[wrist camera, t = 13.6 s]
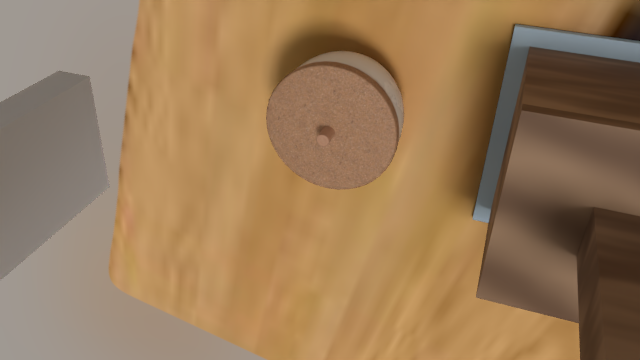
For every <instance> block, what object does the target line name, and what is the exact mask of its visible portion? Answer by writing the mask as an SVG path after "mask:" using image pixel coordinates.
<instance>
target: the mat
mask: <svg viewBox="0 0 640 360" xmlns="http://www.w3.org/2000/svg"><path fill="white" fill-rule="evenodd" d="M530 46H531V47H537V48H544V49H551V50H558V51H565V52H571V53H578V54H585V55H592V56H599V57H605V58H612V59H619V60H626V61H633V62H639V63H640V41H635V40H628V39H620V38H613V37H606V36H599V35H592V34H584V33H577V32H570V31H563V30H556V29H549V28H541V27H534V26H527V25H520V24H515V28H514V32H513V37H512V42H511V46H510V51H509V55H508V60H507V64H506V69H505V73H504V78H503V83H502V87H501V92H500V96H499V101H498V105H497V110H496V114H495V119H494V124H493V128H492V133H491V137H490V142H489V146H488V151H487V155H486V160H485V164H484V169H483V174H482V178H481V183H480V187H479V192H478V196H477V201H476V205H475V210H474V215H473V220H478V221H482V222H487V223H489V218H490V212H491V207H492V203H493V199H494V194H495V190H496V186H497V182H498V178H499V173H500V169H501V165H502V161H503V157H504V152H505V148H506V144H507V140H508V135H509V131H510V127H511V123H512V119H513V114H514V110H515V106H516V102H517V97H518V93H519V89H520V85H521V81H522V76H523V72H524V68H525V64H526V60H527V55H528V51H529V47H530Z"/></svg>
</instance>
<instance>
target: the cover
mask: <svg viewBox="0 0 640 360" xmlns="http://www.w3.org/2000/svg"><path fill="white" fill-rule="evenodd" d="M476 298H480V299H484V300H488V301H492V302H496V303H500V304H504V305H508V306H512V307H516V308H520V309H524V310H528V311H532V312H536V313H540V314H544V315H548V316H552V317H556V318H560V319H564V320H568V321H572V322H576V323H579V338H580V360H640V63H639V62H633V61H626V60H619V59H612V58H605V57H599V56H592V55H585V54H578V53H571V52H565V51H558V50H551V49H544V48H537V47H531V46H530V47H529V51H528V55H527V60H526V64H525V68H524V72H523V76H522V81H521V85H520V89H519V93H518V97H517V102H516V106H515V110H514V114H513V119H512V123H511V127H510V131H509V135H508V140H507V144H506V148H505V152H504V157H503V161H502V165H501V169H500V173H499V178H498V182H497V186H496V190H495V194H494V199H493V203H492V207H491V212H490V218H489V224H488V230H487V235H486V241H485V247H484V253H483V259H482V265H481V271H480V277H479V282H478V288H477V294H476Z"/></svg>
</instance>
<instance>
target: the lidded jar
mask: <svg viewBox="0 0 640 360" xmlns="http://www.w3.org/2000/svg"><path fill="white" fill-rule="evenodd" d="M266 120H267V129H268V133H269V137H270V140H271V142H272V144H273V147H274V148H275V150H276V152H277V154H278V155H279V157H280V158H281V159H282V160H283V162H284V163H285V164H286V165H287V166H288V167H289V168H290V169H291V170H292V171H293V172H295V173H296V174H297V175H299V176H300V177H302V178H303V179H305V180H307V181H309V182H311V183H313V184H316V185H319V186H322V187H325V188H331V189H351V188H357V187H360V186H363V185H366V184H368V183H370V182H372V181H373V180H375V179H376V178H378V177H379V176H380V175H381V174H382V173H383V172H384V171H385V170H386V169H387V167H388V166H389V164H390V163H391V161H392V159H393V157H394V154H395V152H396V149H397V145H398V142H399V139H400V137H401V132H402V128H403V122H404V107H403V100H402V96H401V93H400V90H399V88H398V86H397V84H396V82H395V80H394V79H393V77H392V76H391V74H390V73H389V72H388V71H387V70H386V69H385V68H384V67H383V66H382V65H381V64H379V63H378V62H377V61H375V60H373V59H372V58H370V57H368V56H365V55H363V54H360V53H356V52H351V51H332V52H328V53H324V54H321V55H318V56H316V57H313V58H311V59H309V60H308V61H306V62H304V63H303V64H302V65H300V66H299V67H297V68H296V69H295V70H294V71H292V72H291V73H289V74H288V75H287V76H286V77H285V78H284V79H283V80H282V81H281V82H280V83H279V84H278V85H277V87H276V88H275V89H274V91H273V93H272V95H271V97H270V99H269V103H268V107H267V116H266Z"/></svg>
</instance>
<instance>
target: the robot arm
mask: <svg viewBox="0 0 640 360" xmlns="http://www.w3.org/2000/svg"><path fill="white" fill-rule="evenodd" d="M107 188H109V182H108V176H107V171H106V165H105V159H104V154H103V148H102V143H101V137H100V132H99V126H98V121H97V115H96V109H95V104H94V98H93V94H92V87H91V82H90V77H89V76H84V75H79V74H73V73H68V72H62V71H58V72H56V73H54V74H52V75H50V76H48V77H47V78H45V79H43V80H41V81H39V82H37V83H35V84H33V85H32V86H30V87H28V88H26V89H24V90H22V91H20V92H19V93H17V94H15V95H13V96H11V97H9V98H8V99H6V100H4V101H2V102H0V280H1V279H3V278H4V277H5V276H6V275H7V274H8V273H9V272H11V271H12V270H13V269H14V268H15V267H17V266H18V265H19V264H20V263H21V262H22V261H24V260H25V259H26V258H27V257H28V256H29V255H31V254H32V253H33V252H34V251H35V250H36V249H37V248H39V247H40V246H41V245H42V244H43V243H45V242H46V241H47V240H48V239H49V238H50V237H52V235H54V234H55V233H56V232H57V231H59V230H60V229H61V228H62V227H63V226H64V225H66V224H67V223H68V222H69V221H70V220H71V219H73V218H74V217H75V216H76V215H77V214H78V213H80V212H81V211H82V210H83V209H84V208H85V207H87V206H88V205H89V204H90V203H91V202H92V201H94V200H95V199H96V198H97V197H98V196H99V195H100V194H102V193H103V192H104V191H105V190H106V189H107Z"/></svg>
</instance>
